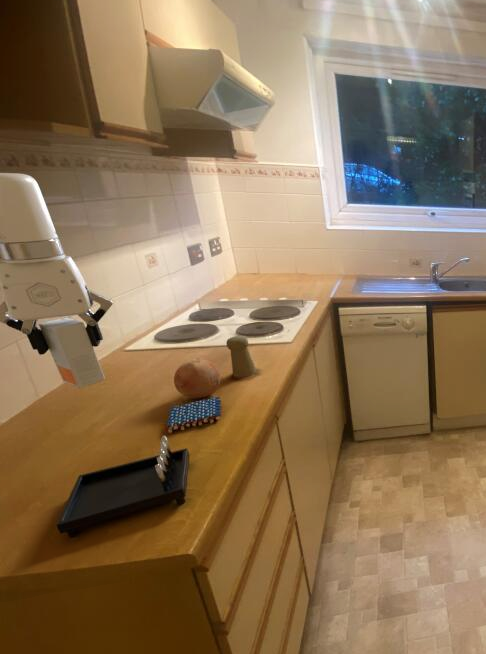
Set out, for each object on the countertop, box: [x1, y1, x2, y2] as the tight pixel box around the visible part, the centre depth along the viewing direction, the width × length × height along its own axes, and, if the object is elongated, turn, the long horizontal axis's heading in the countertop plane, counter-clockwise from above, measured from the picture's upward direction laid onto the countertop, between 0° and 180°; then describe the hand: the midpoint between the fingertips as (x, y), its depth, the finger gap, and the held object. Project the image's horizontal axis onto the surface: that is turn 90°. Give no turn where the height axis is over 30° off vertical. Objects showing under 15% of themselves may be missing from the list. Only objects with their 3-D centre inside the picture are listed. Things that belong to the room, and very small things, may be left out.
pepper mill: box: [226, 335, 258, 379], centre depth 123 cm, size 6×6×11 cm
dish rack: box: [55, 435, 190, 538], centre depth 76 cm, size 16×14×8 cm
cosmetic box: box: [38, 317, 106, 389], centre depth 81 cm, size 6×4×12 cm
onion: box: [173, 358, 221, 400], centre depth 110 cm, size 10×10×10 cm
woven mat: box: [165, 396, 222, 434], centre depth 102 cm, size 10×11×2 cm
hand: (71, 347), depth 81 cm, fingers closed on cosmetic box, 6 cm apart
